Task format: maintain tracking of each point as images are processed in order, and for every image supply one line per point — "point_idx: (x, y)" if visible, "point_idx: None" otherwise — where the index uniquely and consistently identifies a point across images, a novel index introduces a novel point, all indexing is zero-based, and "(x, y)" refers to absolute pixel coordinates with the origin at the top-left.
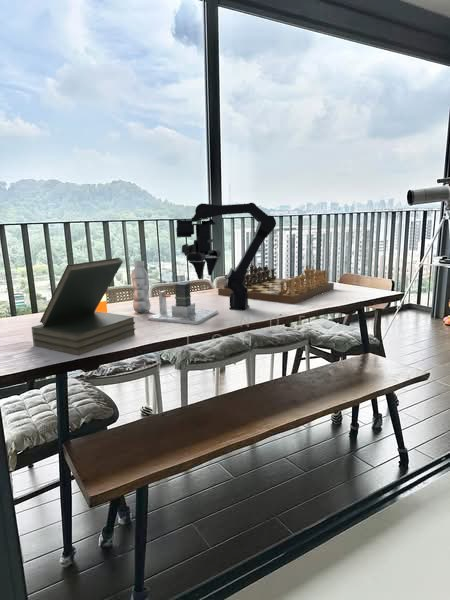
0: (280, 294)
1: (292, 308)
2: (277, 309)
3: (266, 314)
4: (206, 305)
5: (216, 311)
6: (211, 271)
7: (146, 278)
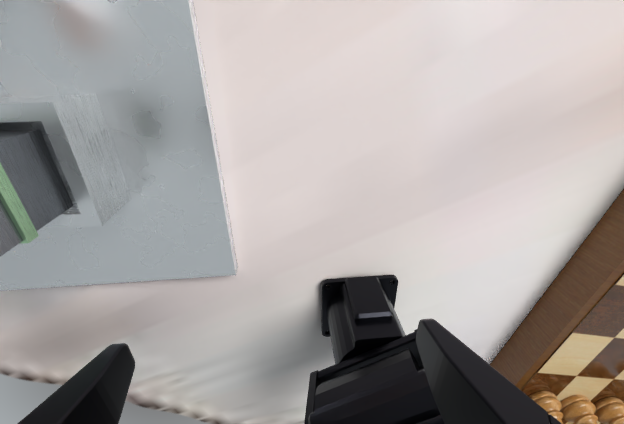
0: None
1: None
2: None
3: (288, 398)
4: (382, 136)
5: (216, 275)
6: (436, 397)
7: None
